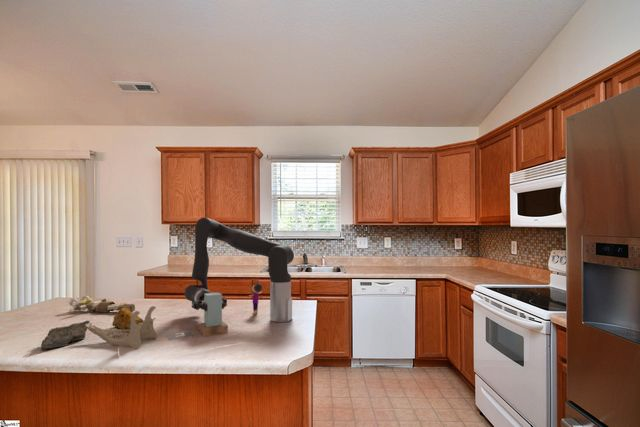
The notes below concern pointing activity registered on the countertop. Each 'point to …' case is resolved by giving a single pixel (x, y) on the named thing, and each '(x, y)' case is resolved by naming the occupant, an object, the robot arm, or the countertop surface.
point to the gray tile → (179, 335)
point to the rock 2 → (125, 319)
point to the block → (213, 309)
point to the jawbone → (128, 332)
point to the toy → (256, 297)
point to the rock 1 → (65, 335)
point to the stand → (213, 329)
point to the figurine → (99, 305)
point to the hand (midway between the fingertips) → (215, 307)
